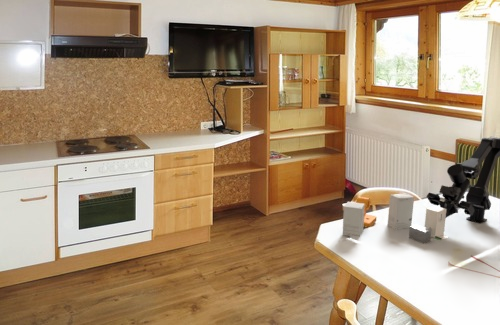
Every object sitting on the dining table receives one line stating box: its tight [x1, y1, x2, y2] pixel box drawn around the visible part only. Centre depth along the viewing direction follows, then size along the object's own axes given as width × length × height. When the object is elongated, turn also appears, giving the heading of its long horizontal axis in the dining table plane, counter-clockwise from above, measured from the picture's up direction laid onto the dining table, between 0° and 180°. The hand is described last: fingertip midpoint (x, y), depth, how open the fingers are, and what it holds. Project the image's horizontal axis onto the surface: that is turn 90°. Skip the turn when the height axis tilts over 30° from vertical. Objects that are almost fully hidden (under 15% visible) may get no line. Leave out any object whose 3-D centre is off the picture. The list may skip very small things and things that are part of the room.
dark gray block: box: [408, 224, 432, 245], centre depth 175 cm, size 4×7×5 cm, turn 34°
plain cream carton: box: [424, 205, 447, 239], centre depth 177 cm, size 10×8×11 cm
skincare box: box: [387, 193, 415, 230], centre depth 188 cm, size 8×6×15 cm
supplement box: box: [342, 201, 365, 237], centre depth 183 cm, size 7×7×13 cm
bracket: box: [355, 196, 377, 228], centre depth 194 cm, size 11×7×12 cm, turn 147°
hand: (439, 219), depth 181 cm, fingers closed, pressing on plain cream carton
